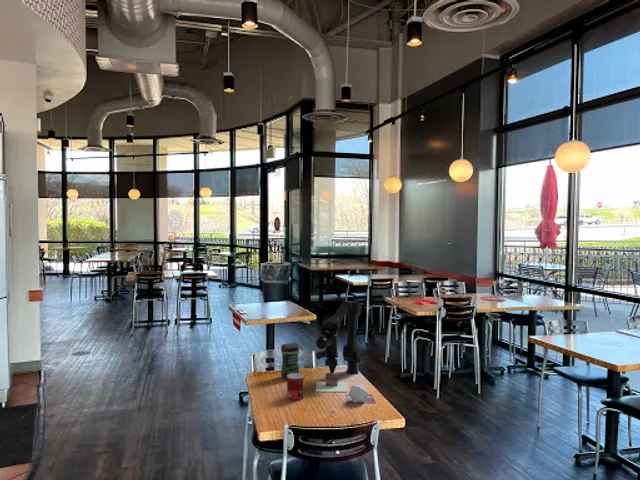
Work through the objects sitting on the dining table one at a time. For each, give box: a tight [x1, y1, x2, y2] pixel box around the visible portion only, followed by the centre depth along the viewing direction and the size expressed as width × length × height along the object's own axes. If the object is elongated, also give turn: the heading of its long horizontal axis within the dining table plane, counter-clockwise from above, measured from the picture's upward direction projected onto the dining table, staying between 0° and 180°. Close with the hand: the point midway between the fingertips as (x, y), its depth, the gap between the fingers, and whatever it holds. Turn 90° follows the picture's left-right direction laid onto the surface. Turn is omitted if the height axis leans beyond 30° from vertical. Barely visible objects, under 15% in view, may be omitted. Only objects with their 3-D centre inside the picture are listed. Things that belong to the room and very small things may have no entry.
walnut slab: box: [325, 372, 339, 386], centre depth 241 cm, size 2×6×6 cm, turn 87°
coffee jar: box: [280, 342, 300, 380], centre depth 256 cm, size 10×8×19 cm
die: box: [348, 383, 369, 404], centre depth 220 cm, size 8×9×10 cm
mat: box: [314, 381, 349, 393], centre depth 240 cm, size 14×16×1 cm
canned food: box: [286, 372, 305, 402], centre depth 225 cm, size 8×8×11 cm
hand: (331, 374), depth 246 cm, fingers closed
